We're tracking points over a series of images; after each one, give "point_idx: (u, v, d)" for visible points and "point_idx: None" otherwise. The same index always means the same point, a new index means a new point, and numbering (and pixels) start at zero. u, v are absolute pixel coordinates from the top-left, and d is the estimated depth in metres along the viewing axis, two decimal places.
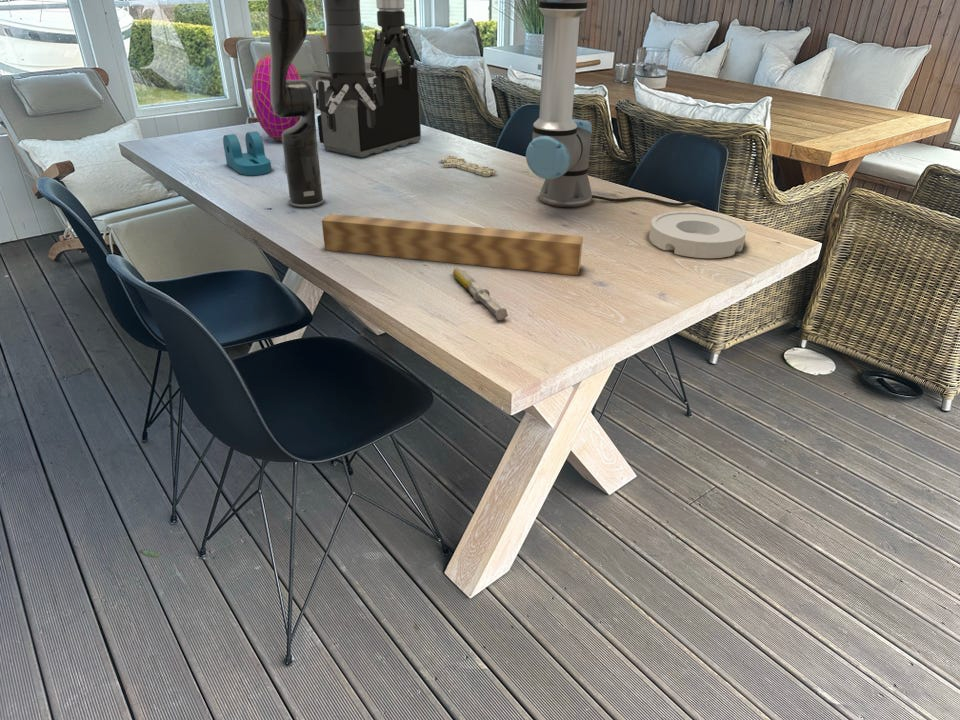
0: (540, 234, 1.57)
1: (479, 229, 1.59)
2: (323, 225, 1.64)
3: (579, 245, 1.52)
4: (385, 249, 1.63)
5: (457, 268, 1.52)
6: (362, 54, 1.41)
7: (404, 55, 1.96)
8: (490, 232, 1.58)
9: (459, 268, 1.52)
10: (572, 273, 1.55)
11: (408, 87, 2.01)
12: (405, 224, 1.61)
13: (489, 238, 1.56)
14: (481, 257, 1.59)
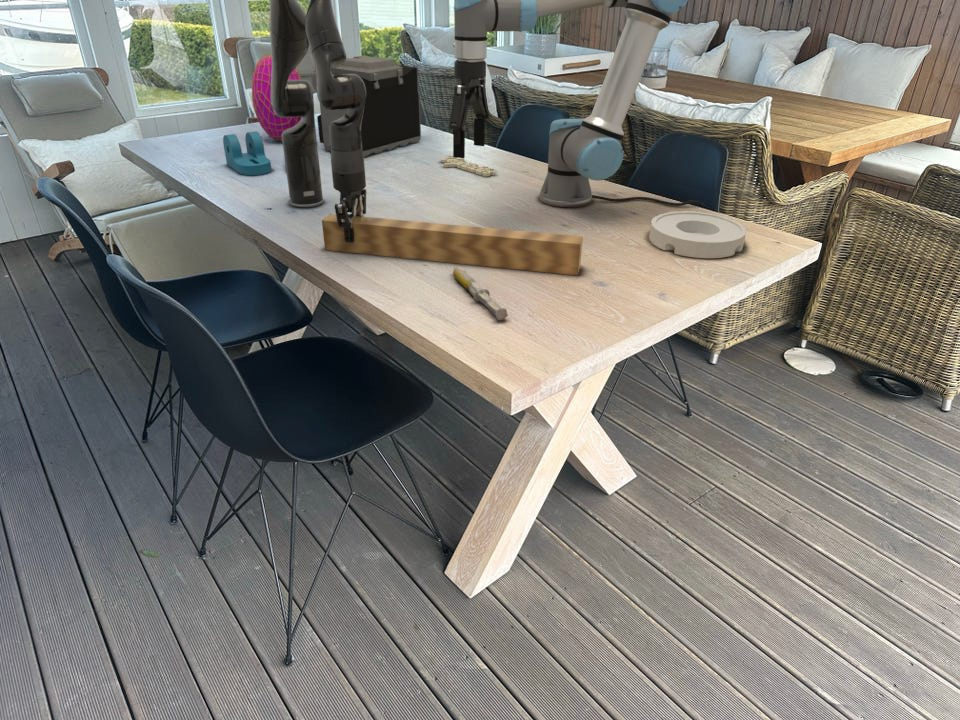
0: (540, 234, 1.57)
1: (479, 229, 1.59)
2: (323, 225, 1.64)
3: (579, 245, 1.52)
4: (385, 249, 1.63)
5: (457, 268, 1.52)
6: None
7: (480, 108, 1.71)
8: (490, 232, 1.58)
9: (459, 268, 1.52)
10: (572, 273, 1.55)
11: (481, 143, 1.77)
12: (405, 224, 1.61)
13: (489, 238, 1.56)
14: (481, 257, 1.59)
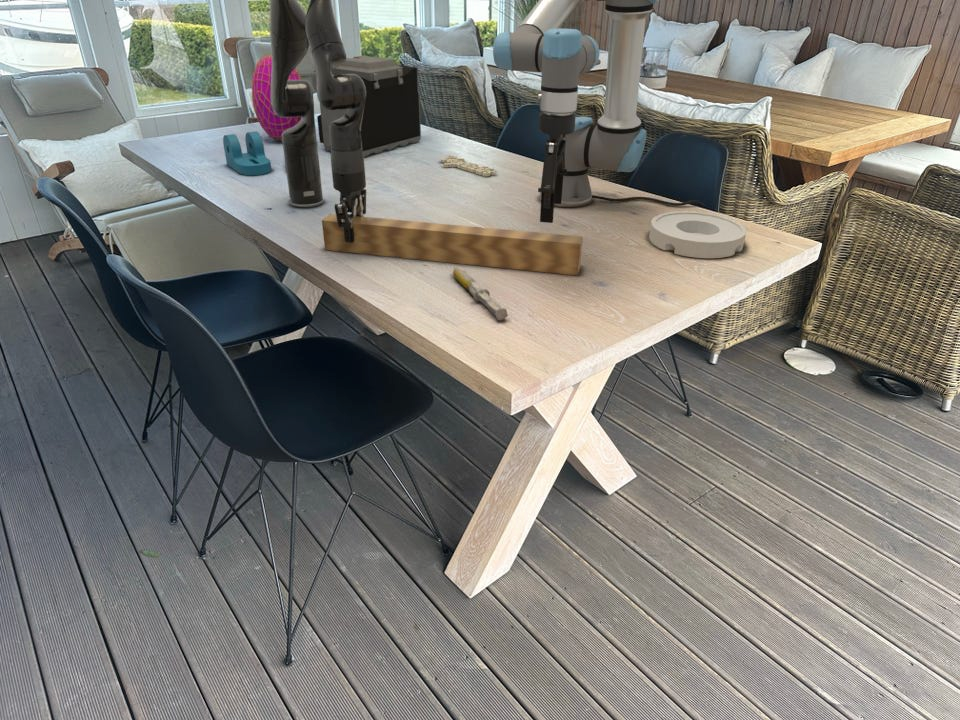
0: (540, 234, 1.57)
1: (479, 229, 1.59)
2: (323, 225, 1.64)
3: (579, 245, 1.52)
4: (385, 249, 1.63)
5: (457, 268, 1.52)
6: None
7: (560, 163, 1.52)
8: (490, 232, 1.58)
9: (459, 268, 1.52)
10: (572, 273, 1.55)
11: (558, 201, 1.57)
12: (405, 224, 1.61)
13: (489, 238, 1.56)
14: (481, 257, 1.59)
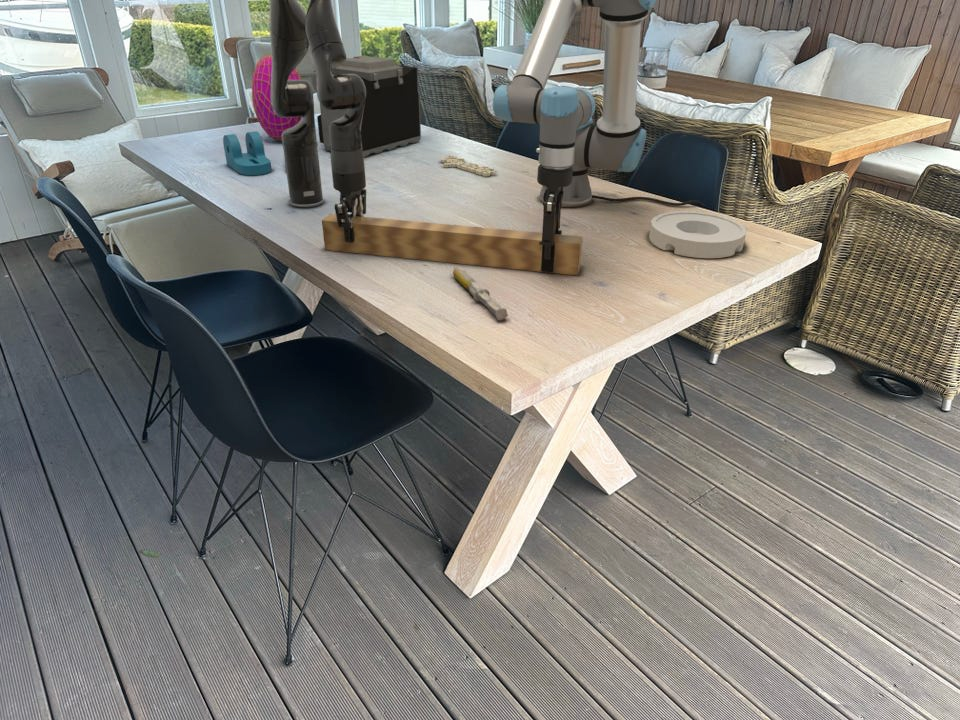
0: (540, 234, 1.57)
1: (479, 229, 1.59)
2: (323, 225, 1.64)
3: (579, 245, 1.52)
4: (385, 249, 1.63)
5: (457, 268, 1.52)
6: None
7: (556, 220, 1.55)
8: (490, 232, 1.58)
9: (459, 268, 1.52)
10: (572, 273, 1.55)
11: None
12: (405, 224, 1.61)
13: (489, 238, 1.56)
14: (481, 257, 1.59)
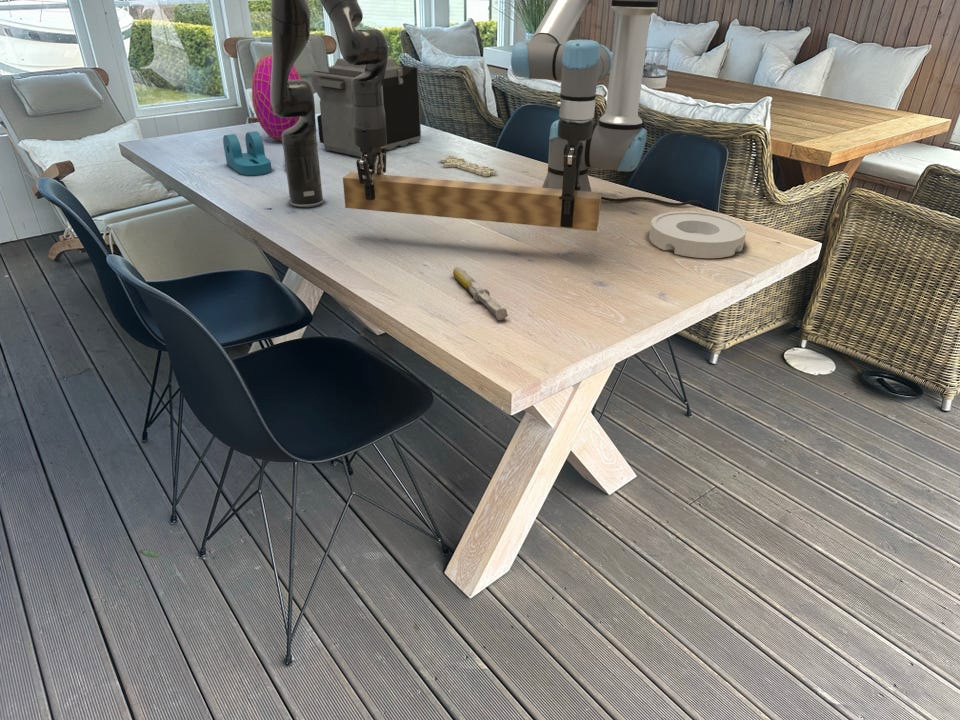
0: (559, 190, 1.58)
1: (499, 186, 1.60)
2: (344, 183, 1.66)
3: (598, 200, 1.54)
4: (406, 207, 1.65)
5: (457, 268, 1.52)
6: None
7: (575, 175, 1.57)
8: (510, 188, 1.59)
9: (459, 268, 1.52)
10: (591, 229, 1.57)
11: None
12: (425, 181, 1.63)
13: (509, 193, 1.58)
14: (501, 214, 1.60)
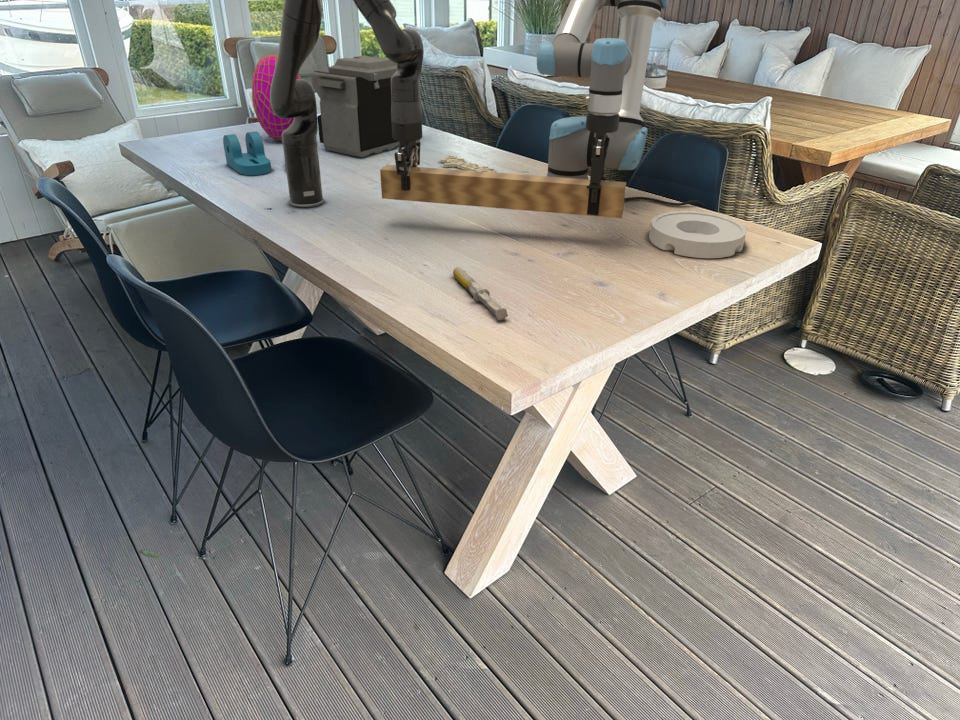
0: (586, 180, 1.68)
1: (528, 177, 1.70)
2: (381, 174, 1.75)
3: (624, 189, 1.63)
4: (440, 197, 1.75)
5: (457, 268, 1.52)
6: None
7: None
8: (539, 178, 1.69)
9: (459, 268, 1.52)
10: (616, 216, 1.67)
11: None
12: (458, 172, 1.73)
13: (539, 183, 1.67)
14: (531, 203, 1.70)
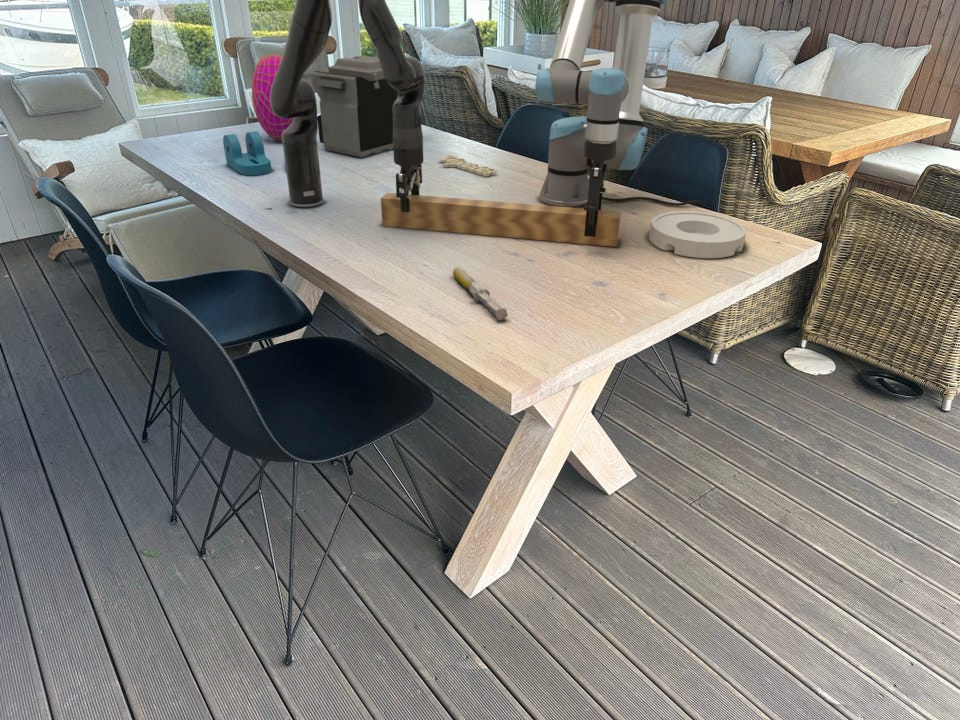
0: (582, 209, 1.72)
1: (526, 206, 1.74)
2: (382, 202, 1.79)
3: (618, 219, 1.67)
4: (439, 225, 1.79)
5: (457, 268, 1.52)
6: None
7: None
8: (536, 207, 1.73)
9: (459, 268, 1.52)
10: (611, 245, 1.71)
11: None
12: (457, 201, 1.77)
13: (536, 213, 1.71)
14: (528, 231, 1.74)
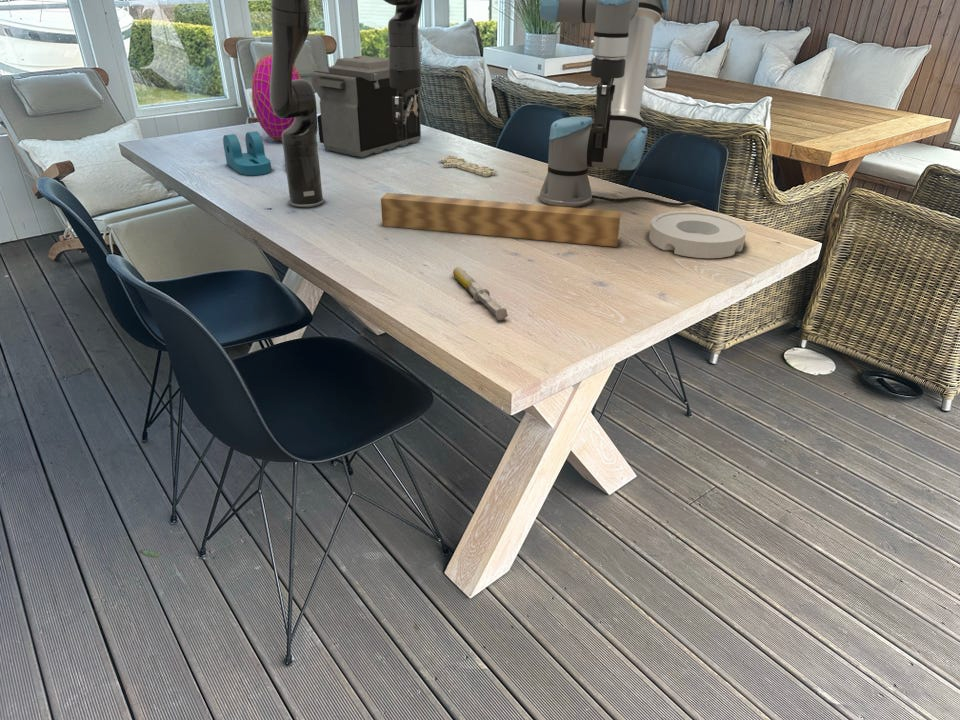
0: (582, 209, 1.72)
1: (526, 206, 1.74)
2: (382, 202, 1.79)
3: (618, 219, 1.67)
4: (439, 225, 1.79)
5: (457, 268, 1.52)
6: None
7: (608, 109, 1.62)
8: (536, 207, 1.73)
9: (459, 268, 1.52)
10: (611, 245, 1.71)
11: (605, 145, 1.68)
12: (457, 201, 1.77)
13: (536, 213, 1.71)
14: (528, 231, 1.74)
